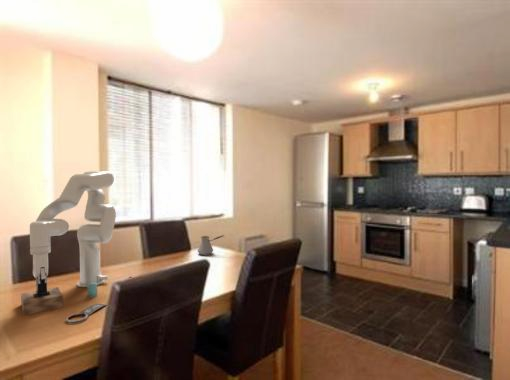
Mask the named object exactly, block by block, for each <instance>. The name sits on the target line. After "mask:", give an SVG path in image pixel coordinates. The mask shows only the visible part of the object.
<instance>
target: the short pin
mask: <svg viewBox="0 0 510 380" xmlns="http://www.w3.org/2000/svg"><path fill="white" fill-rule="evenodd" d="M96 297H98V285H97V283H96V282H92V283H88V287H87V298H96Z"/></svg>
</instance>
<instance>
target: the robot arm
mask: <svg viewBox="0 0 510 380" xmlns="http://www.w3.org/2000/svg"><path fill="white" fill-rule="evenodd" d="M114 181H115V178H114V174H113V173H112V172H111V171H109V170H108V171H107V170H105V171H104V170H103V171H102V170H100V171H96V170H94V171H93V170H89V171H85V172H83V173H77V174H73V175H72V176H71V177H69V179H68V182H67V183H66V184H65V187H64V188H63V190H62V192H61V194H60V195H59V197H58V198H56V199H55V200H53V201H51V202H50V203H49V204H48V205H46V206H45V207H44V208H43V209H42V211H41V212H40V213H39V214H38V216H37V218H36V219H35V221H33V222H30V223H29V248H30V249H29V252H30V255H31V256H32V275H33V277H34V278H35V279H36V278H37V277H38V283H39V284H38V293H44V292H47V289H48V282H47V283H46V276H47V277H48V276H49V254H50V253H51V252H52V246H51V245H52V244H51V243H52V242H51V241H52V240H51V237H54V236H62V235H65V234H66V233H67V232H68V231H69V229H70V228H69V227H70V225H69V223H68V221H66V220H65V219H63V218H62V219H61V218H55V217H57V216H59V214H61V213H63V212H66V211H69V210H70V209H73V208H75V207H77V206H78V204H79V203H80V201H81V198H82V197H83V195H84V194H85V192H87V200H86V204H85V210H84V214H83V217H84V219H85V221H88V222H91V223H92V224H91V223H87V224H82V225H81V226H79V228H77V231H76V235H77V241H78V245H79V246H78V247H79V274H80V275H79V279H80V280H78V281H77V282H76V286H77V287H80V288H88V283H92V282H96V283H97V286H99V285H101V284H103V283H104V281H108V280H109V275H107V274H106V275H103V273H102V272H101V255H100V254H101V250H100V247H99V245H98V243H99V244H107V243H109V242H110V241H111V240H112V237H113V235H114V234H113V233H114V228H115V225H116V224H115V222H116V217H117V214H116V213H117V212H116V209H115V207H114V205H113V206H112V205H111V204H105V200H106V195H105V192H104V191H103V189H106V188H110V187H111V186H112V185H113V184H114ZM93 223H96V224H93ZM97 223H100V224H97ZM39 275H41V276H40V277H39ZM40 278H41V279H40Z"/></svg>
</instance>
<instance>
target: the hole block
mask: <svg viewBox="0 0 510 380" xmlns="http://www.w3.org/2000/svg"><path fill="white" fill-rule="evenodd" d="M20 295H21V296H20V297H21V298H20V301H21V302H20V303H21V308H22V314H23V316H27V315H32V314H37V313H41V312H46V311H50V310H56V309H59V308H63V307H64V295H63V293H62V292H61V290H60V289H59V287H51V288H47V296H43V297H38V298H36V290H34V291H30V292H24V293H21V294H20Z"/></svg>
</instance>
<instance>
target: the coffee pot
mask: <svg viewBox="0 0 510 380" xmlns="http://www.w3.org/2000/svg"><path fill="white" fill-rule="evenodd" d="M225 237H226V236H225V235H224V234H222V235H220V236H216V237H214V238H212V239H210V236H208V235H203V236H200V238H201V240H200V244H199V246H198V248H197V253H198V254H200V256H210V255H211V254H212V253H213V252H214V248H213V246H212V244H211V242H212V241H215V240H218V239H220V238H225Z"/></svg>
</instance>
